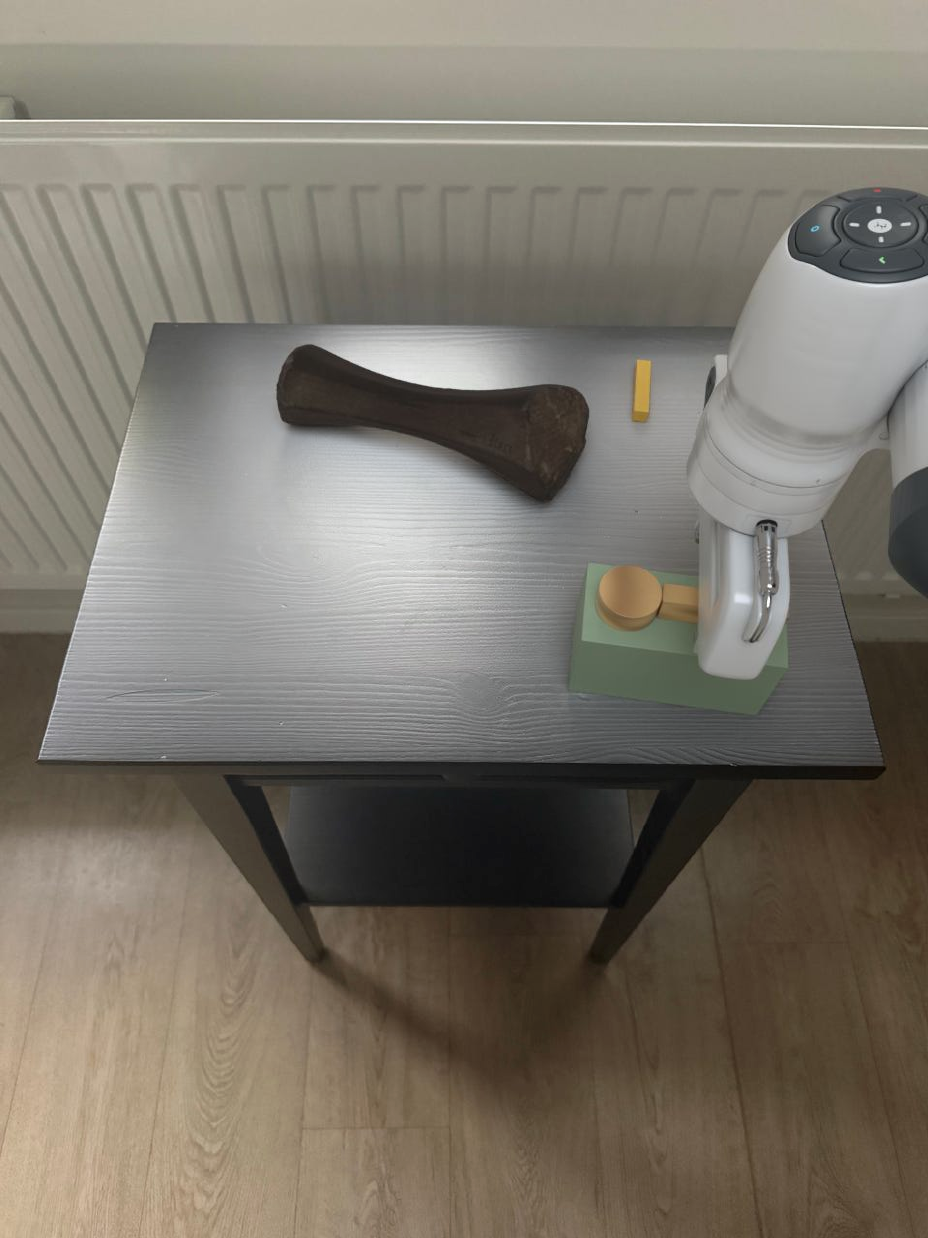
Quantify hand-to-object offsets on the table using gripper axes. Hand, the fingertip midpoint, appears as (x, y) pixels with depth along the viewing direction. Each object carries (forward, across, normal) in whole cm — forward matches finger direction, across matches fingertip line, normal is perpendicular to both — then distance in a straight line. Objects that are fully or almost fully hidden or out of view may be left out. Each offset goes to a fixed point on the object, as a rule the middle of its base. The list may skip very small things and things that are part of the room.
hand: (705, 590), depth 67 cm
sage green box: (+11, 0, 0) cm, 11 cm away
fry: (+11, +30, +4) cm, 32 cm away
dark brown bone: (+12, +20, +23) cm, 32 cm away
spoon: (+3, 0, +1) cm, 3 cm away
